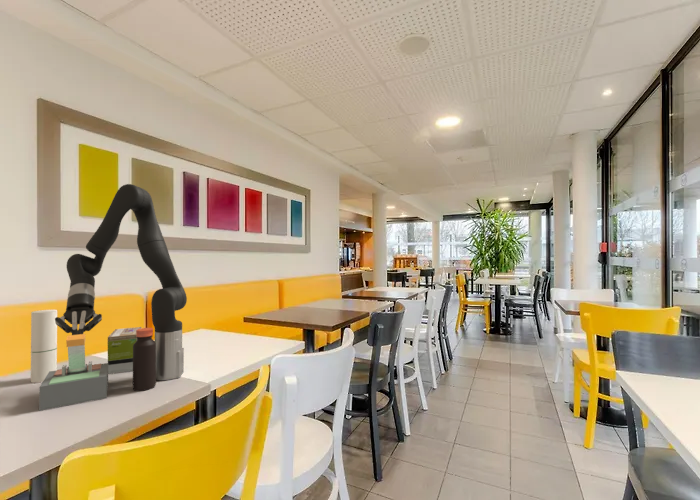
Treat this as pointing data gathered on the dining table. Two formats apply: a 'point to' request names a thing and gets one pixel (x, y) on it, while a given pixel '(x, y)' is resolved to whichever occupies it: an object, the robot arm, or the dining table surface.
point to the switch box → (73, 386)
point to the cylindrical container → (43, 344)
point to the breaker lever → (76, 354)
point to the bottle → (144, 360)
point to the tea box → (121, 350)
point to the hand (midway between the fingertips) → (77, 341)
